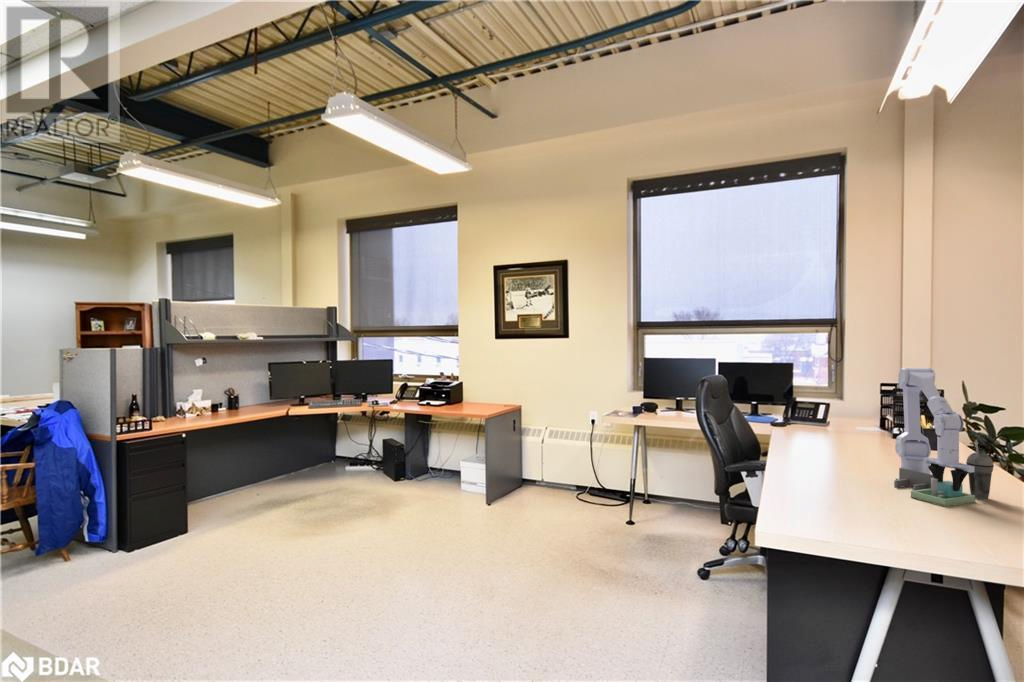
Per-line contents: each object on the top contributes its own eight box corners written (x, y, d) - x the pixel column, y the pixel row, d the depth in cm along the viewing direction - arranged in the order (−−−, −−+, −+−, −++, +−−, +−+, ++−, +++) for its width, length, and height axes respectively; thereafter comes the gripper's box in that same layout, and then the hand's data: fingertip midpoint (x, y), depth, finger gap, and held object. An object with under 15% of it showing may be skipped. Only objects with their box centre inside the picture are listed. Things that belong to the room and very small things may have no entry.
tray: (940, 493, 186) (940, 487, 186) (975, 502, 176) (975, 495, 176) (910, 497, 181) (910, 491, 181) (944, 506, 171) (944, 499, 171)
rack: (900, 483, 199) (900, 467, 199) (938, 492, 187) (938, 475, 187) (886, 485, 197) (886, 469, 197) (923, 494, 184) (923, 477, 184)
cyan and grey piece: (947, 492, 183) (947, 474, 183) (962, 495, 179) (962, 478, 179) (925, 495, 179) (925, 477, 179) (939, 498, 175) (940, 480, 175)
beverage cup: (999, 501, 177) (999, 442, 177) (974, 500, 179) (974, 441, 178) (984, 495, 184) (985, 438, 184) (960, 493, 186) (961, 437, 186)
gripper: (917, 445, 185) (917, 484, 185) (964, 454, 171) (964, 495, 171) (931, 444, 187) (930, 482, 187) (978, 452, 174) (978, 493, 174)
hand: (947, 488), depth 180 cm, fingers closed on cyan and grey piece, 4 cm apart
